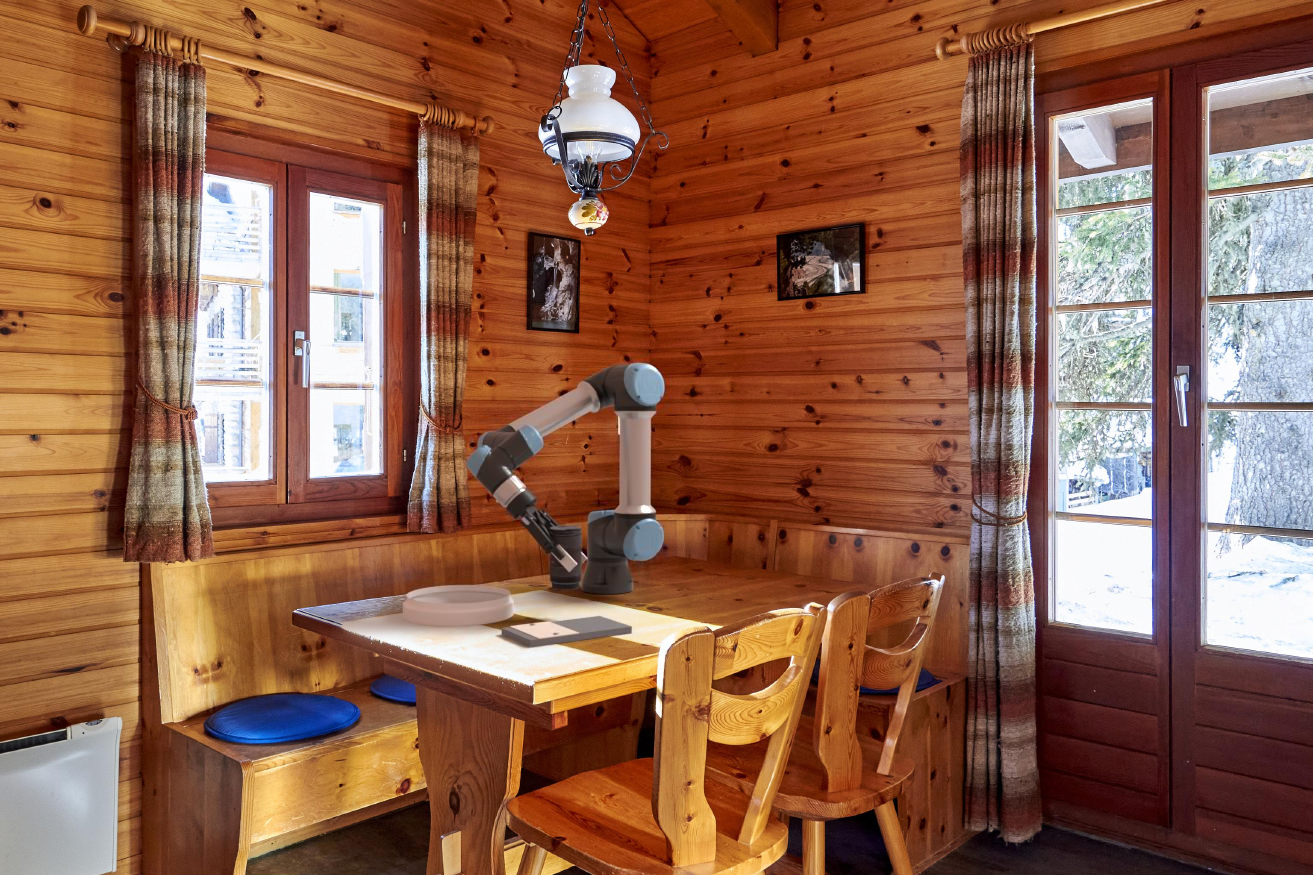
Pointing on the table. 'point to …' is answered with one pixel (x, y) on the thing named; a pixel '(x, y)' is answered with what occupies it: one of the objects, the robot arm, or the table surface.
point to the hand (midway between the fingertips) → (578, 564)
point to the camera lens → (572, 544)
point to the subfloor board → (565, 631)
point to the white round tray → (458, 605)
